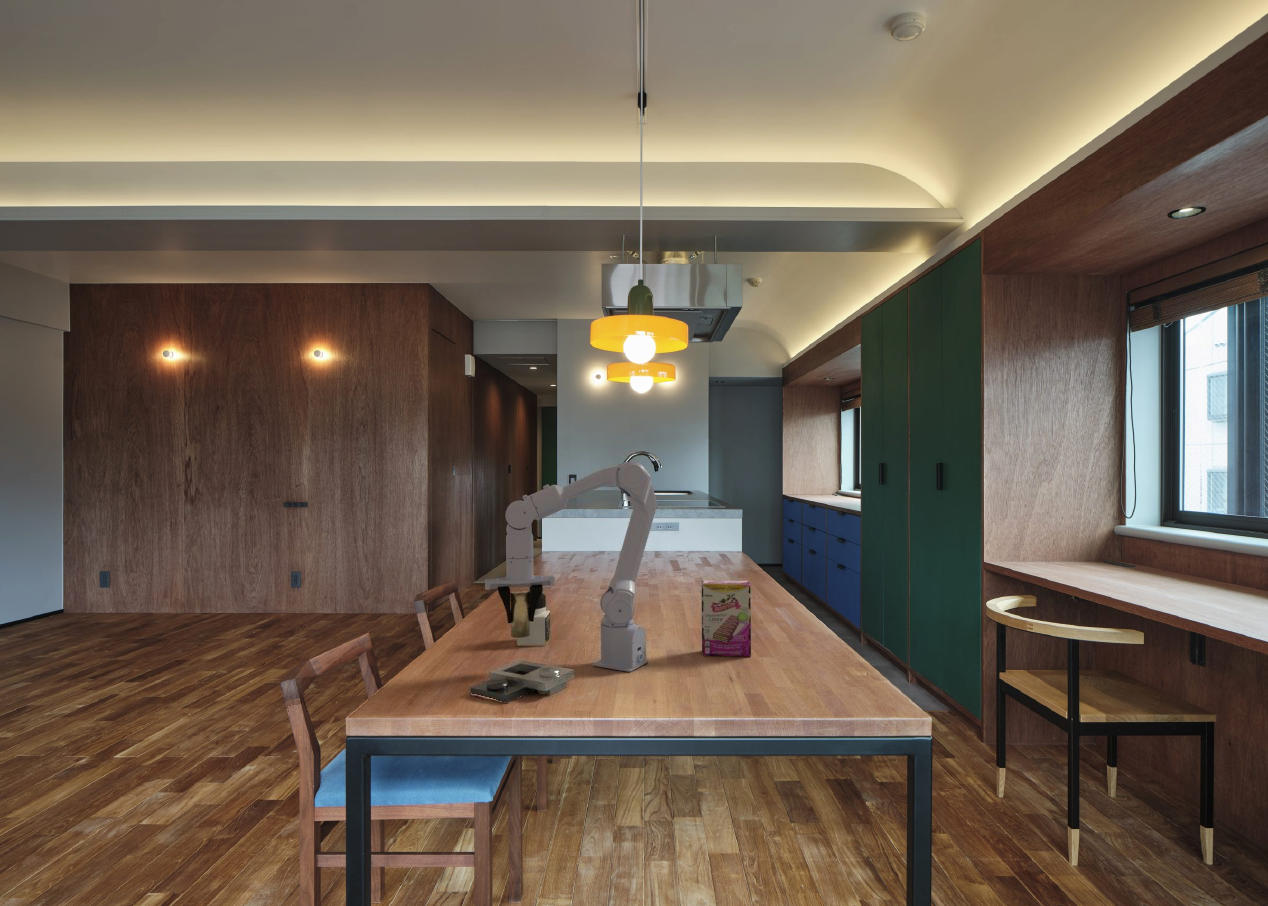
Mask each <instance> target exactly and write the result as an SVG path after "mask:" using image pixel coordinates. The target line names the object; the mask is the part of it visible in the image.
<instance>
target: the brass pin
mask: <svg viewBox="0 0 1268 906" xmlns="http://www.w3.org/2000/svg"><path fill="white" fill-rule="evenodd" d="M510 593H511V600H510V608H511V623H510V632H511V633H510V637H511V638H515V639H517V638H523V637H528V636H530V591H528V590H518V591H512V592H510Z"/></svg>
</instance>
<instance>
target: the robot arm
mask: <svg viewBox="0 0 1268 906" xmlns="http://www.w3.org/2000/svg"><path fill="white" fill-rule="evenodd" d="M652 484H653V483H652V477H651V475H650V474H649V472H648V470H646V468H645V467H644V465H642V464H641V463H640V462H637V461H627V462H621V463H619V464H617V465H616V464H615V465H612V466H607V467H605V468H601V469H598V470H596V471H594V472H591V473H590V474H588V475H585V476H584V477H582V478H579V479H577V480H575V481H574V482H573V481H572V482H571V483H569V484H567V485H565V486H563V487H562V486H559V485H557V484H552V485H550V484H545V485H543V486H542V488H543V489H541V490H539V491H536V492H535V493H532V494H530V495H527V494H524V495H522V499H523V500H515V501H512V502H511V503H510V504H509V505H508V506H507V508H506V510H505V514H504V515H505V517H504V518H505V521H506V522H507V525H506V530H505V531H506V534H507V535H505V542H506V543H505V561H506V563H505V564H506V570H505V571H506V572H505V573H506V576H504V577H496V578H484V588H485V589H484V590H487V591H489V590H495V589H497V593H498V595H499V597H500V599H501V602H502V604H503V606H504V609H505V612H506V617H507V618H506V619H507V624H511V593H512V592H511V589H512V588H513V589H514V588H525V587H526V588H529V592H530V622H533V621H534V614H535V610H536V607H537V604H538V601H539V598H540V596H541V594H543V591H544V588H543V586H545V587H547V586H549V587H555V586H556V580H555V579H556V577H555V575H552V574H551V575H534V535H533V531H532V530H533V529H532V524H533V521H534V520H536V521H540V520H543V519H545V518H547V517H549V516H551V515H554V514H556V513H558V512H560V511H563V510H565V509H566V507H567V504H568V501H570V500H573V499H575V498H577V497H580V496H582V495H585V494H587V493H589V492H592V491H594V490H597V489H599V488H602V487H604V488H605V487H608V488H618V489H619V490H621V491H622V492H623V493H624V494H625V495H626V497H627V499H628V501H629V502H630V504H631V505H632V511H631V515H630V518H629V522H628V526H627V529H626V532H625V534H624V535H625V536H624V540H623V542H622V543H623V544H622V547H621V549H620V553H619V556H618V560H617V564H616V567H615V570H614V575H613V576H612V578H611V579H610V581H609V585H608V587H607V588H606V590H605V591H604V592H603V594H602V595H601V597H600V601H599V602H600V603H599V605H600V609H601V610H602V612H603V613H604V615H603V617H602V618H601V620H600V659H599V660H597V661H596V662H594V663H592V666H593V667H599V668H605V669H608V670H609V669H611V670H616V671H617V670H618V671H621V672H628V673H630V672H632V671H634V670H637V669H638V668H640V667H641V666H643V665H646V664H647V663H648V662H649V660H648V659H647V635H646V634H647V633H646V631H645V628H644V627H643V626H641V625H637V624H636V623H635V622H634V621H635V620H634V615H635V606H634V605H635V604H634V598H635V594H636V581H637V578H638V574H639V571H640V567H641V564H642V559H643V557H644V553H645V549H646V546H647V543H648V542H647V541H648V539H649V537H650V536H649V535H650V532H651V529H652V528H651V527H652V524H653V522H654V521H653V520H654V518H655V514H656V510H657V508H658V506H657V505H658V500H657V498H656V494H655V491H654V487H653V485H652ZM510 588H511V589H510Z"/></svg>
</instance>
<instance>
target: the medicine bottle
mask: <svg viewBox="0 0 1268 906" xmlns="http://www.w3.org/2000/svg"><path fill="white" fill-rule="evenodd" d="M546 600H547V597H546V594H544V593H542V594H541V596H540V598H539V601H538V604H537V607H536V610H535V614H534V621H533V622H530V636H528V637H523V638H516V646H517V645H518V646H517V647H545V646H547V644H548V643H549V641H550V639H551V611H550V610H549V609H548V610H546V609H547V601H546ZM521 645H522V646H521Z"/></svg>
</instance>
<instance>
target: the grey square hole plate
mask: <svg viewBox="0 0 1268 906" xmlns="http://www.w3.org/2000/svg"><path fill="white" fill-rule="evenodd" d="M518 671H524V672H529V673H527V674H525V675H520V674H515V673H516V672H518ZM573 678H575V669H571V668H567V667H561V666H556V665H549V664H544V663H539V662H538V663H537V662H532V661H526V660H522V659H521V660H520V659H519V660H516V661H513V662H510V663H509V664H506V665H503V666H501V667H498V668H496V669H493V670H491V671H488V680H507V681H508V684H512V685H517V686H522V687H527V688H532V689H536V691H537V694H540V693H541V695H545V694H546V695H545V696H552V695H554V694H556V693H558V692H560V691H562V690H565V689H566V688H567V681H569V680H572V679H573Z"/></svg>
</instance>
